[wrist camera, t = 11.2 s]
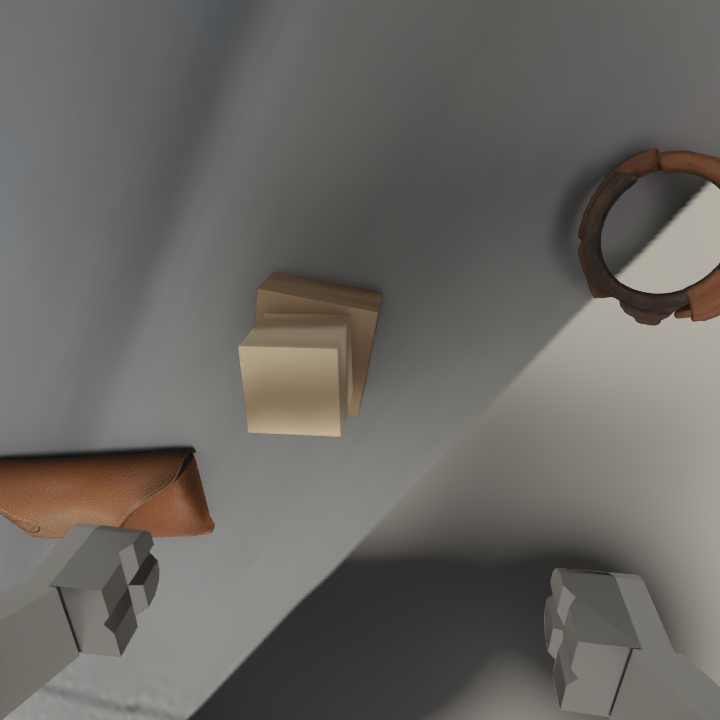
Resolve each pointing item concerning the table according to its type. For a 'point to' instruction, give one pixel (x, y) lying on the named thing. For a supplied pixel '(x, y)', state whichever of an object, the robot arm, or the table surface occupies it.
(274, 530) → the table surface
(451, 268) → the table surface
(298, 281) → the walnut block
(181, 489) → the sunglasses case
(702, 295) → the brown piece
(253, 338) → the beech block
